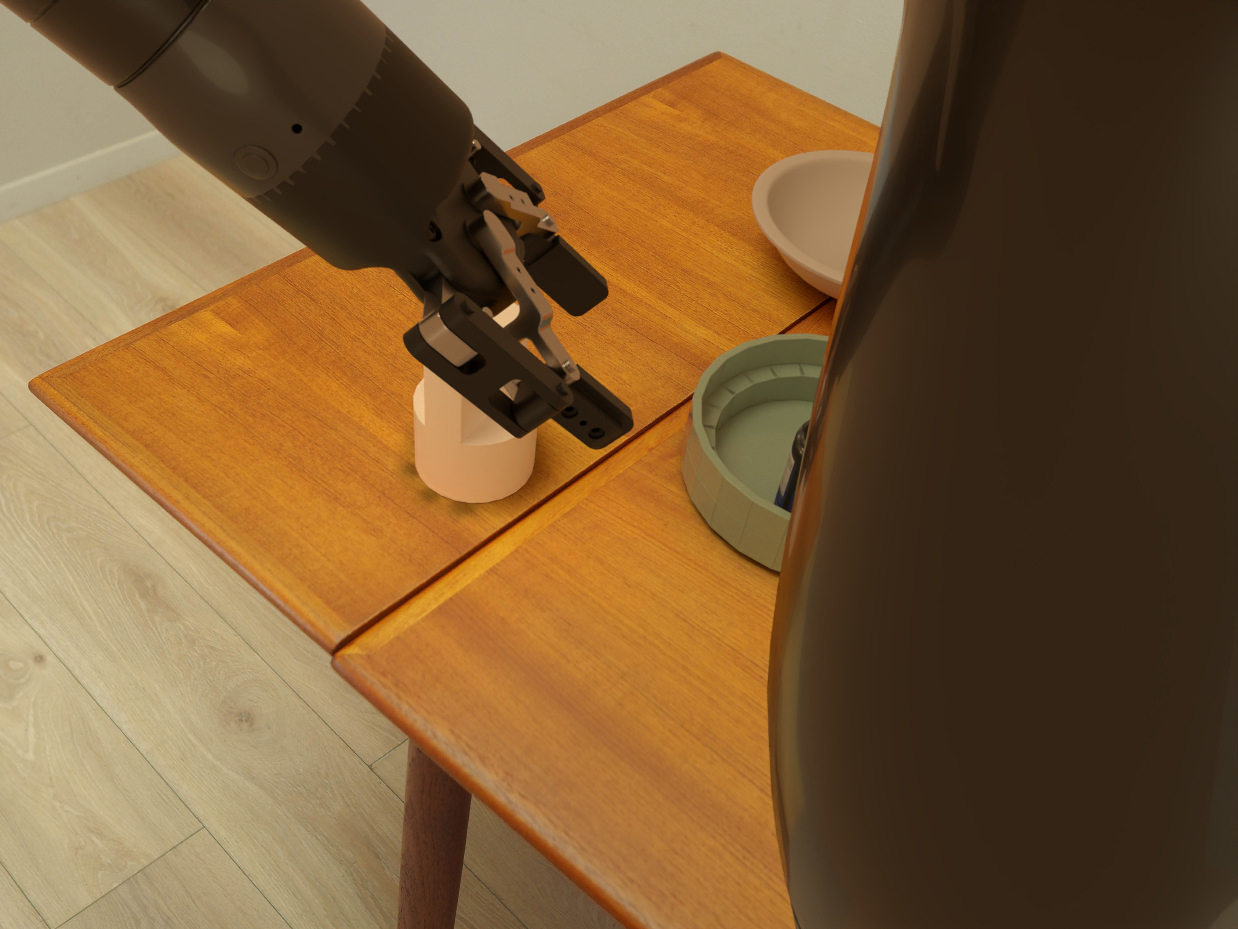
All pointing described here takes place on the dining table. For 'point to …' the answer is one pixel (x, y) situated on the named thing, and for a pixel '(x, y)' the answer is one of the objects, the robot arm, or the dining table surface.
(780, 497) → the pill bottle
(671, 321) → the dining table surface
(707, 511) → the bowl
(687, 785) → the dining table surface
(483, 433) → the cylinder with rectangular tab
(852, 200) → the oval vessel sink
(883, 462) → the robot arm
